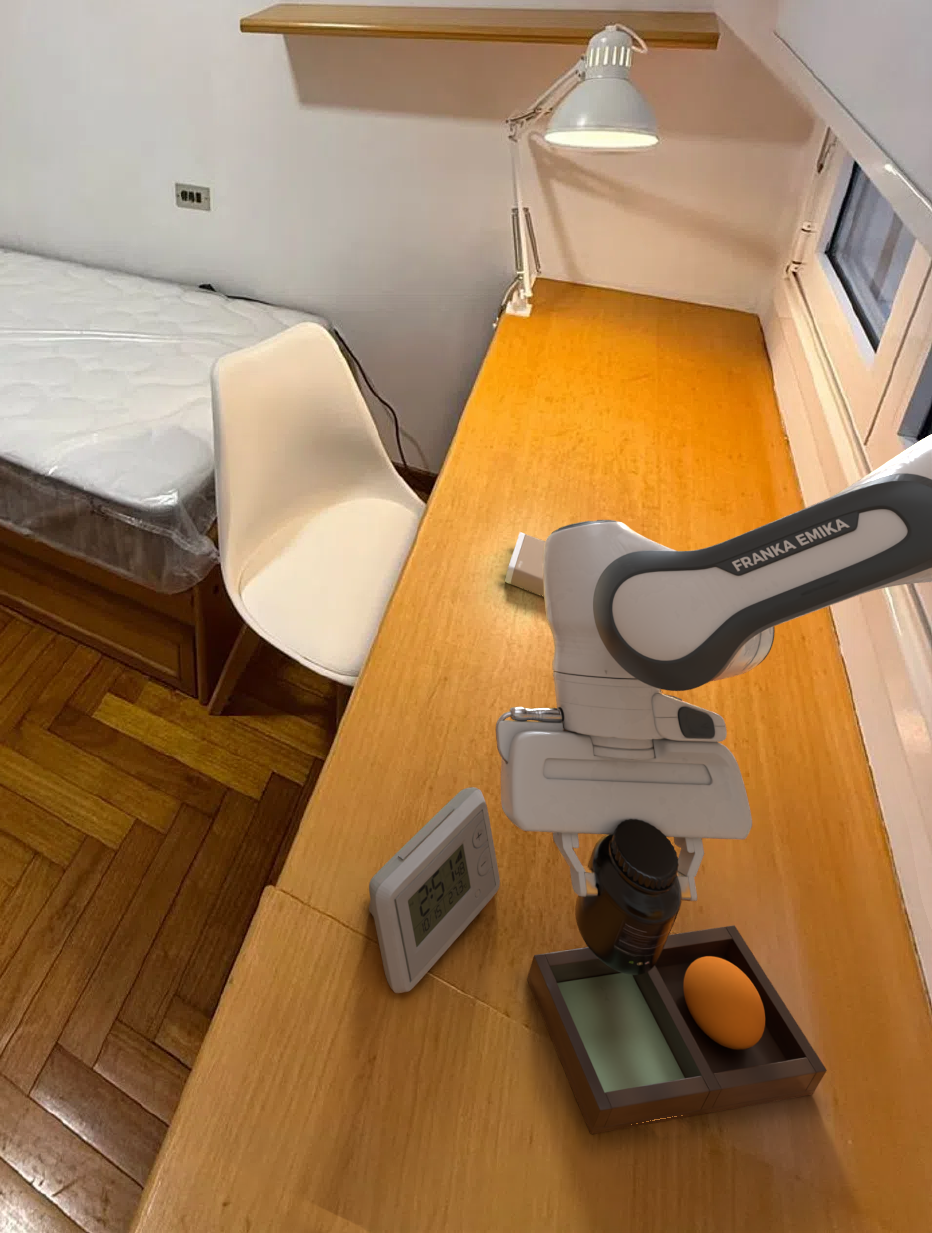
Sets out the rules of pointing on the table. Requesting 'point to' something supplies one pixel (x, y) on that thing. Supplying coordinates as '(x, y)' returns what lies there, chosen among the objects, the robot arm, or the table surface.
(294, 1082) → the table surface
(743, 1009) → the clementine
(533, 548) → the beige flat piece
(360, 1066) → the table surface
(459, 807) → the digital clock
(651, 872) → the supplement bottle
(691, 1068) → the tray
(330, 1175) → the table surface
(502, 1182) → the table surface
